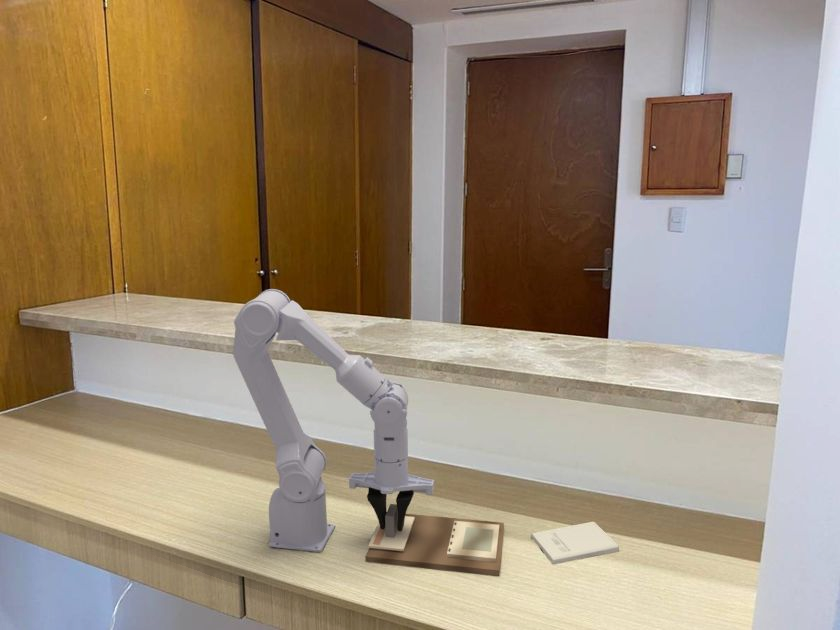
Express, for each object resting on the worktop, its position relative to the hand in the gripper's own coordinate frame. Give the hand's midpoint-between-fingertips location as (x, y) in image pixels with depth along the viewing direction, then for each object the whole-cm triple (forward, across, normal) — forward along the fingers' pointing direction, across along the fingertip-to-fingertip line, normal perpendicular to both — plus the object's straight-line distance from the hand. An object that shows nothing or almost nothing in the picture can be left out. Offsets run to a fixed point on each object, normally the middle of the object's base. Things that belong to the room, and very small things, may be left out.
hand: (392, 527), depth 111 cm
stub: (+1, 0, 0) cm, 1 cm away
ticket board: (+2, +8, 0) cm, 8 cm away
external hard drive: (+3, +31, +4) cm, 32 cm away
